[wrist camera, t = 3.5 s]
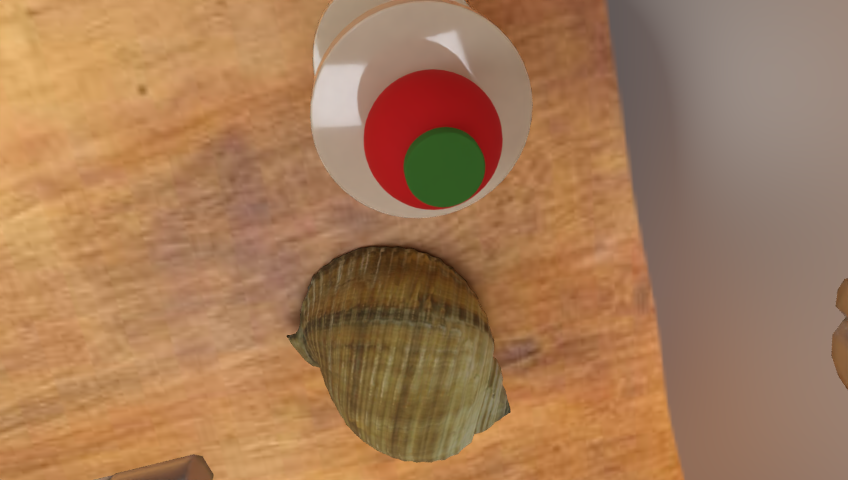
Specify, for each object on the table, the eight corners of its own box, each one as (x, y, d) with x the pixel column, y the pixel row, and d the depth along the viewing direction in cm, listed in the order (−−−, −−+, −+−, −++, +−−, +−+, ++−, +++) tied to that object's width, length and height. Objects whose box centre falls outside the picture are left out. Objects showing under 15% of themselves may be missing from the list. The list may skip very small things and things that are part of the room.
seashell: (313, 269, 32) (264, 436, 29) (314, 204, 26) (252, 410, 23) (507, 316, 33) (481, 486, 30) (555, 265, 27) (528, 474, 23)
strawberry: (474, 40, 17) (508, 78, 14) (495, 160, 19) (530, 218, 16) (345, 73, 17) (350, 118, 14) (377, 190, 19) (389, 255, 16)
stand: (463, -53, 23) (515, -26, 17) (492, 113, 26) (545, 189, 20) (290, -9, 23) (279, 35, 17) (339, 153, 26) (345, 241, 19)
